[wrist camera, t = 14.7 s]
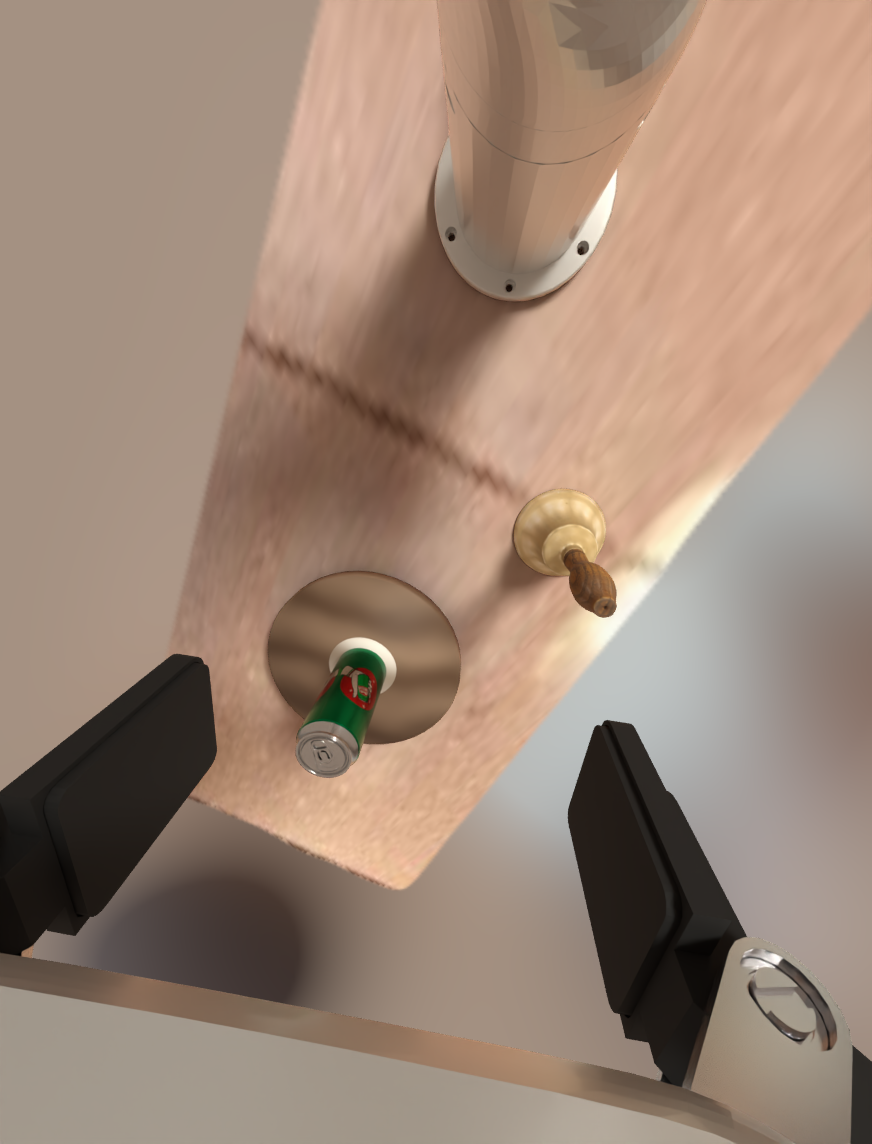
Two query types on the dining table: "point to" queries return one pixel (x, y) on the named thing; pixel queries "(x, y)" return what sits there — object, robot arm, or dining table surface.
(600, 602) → the hand bell
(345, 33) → the dining table surface
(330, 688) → the soda can
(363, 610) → the turntable
